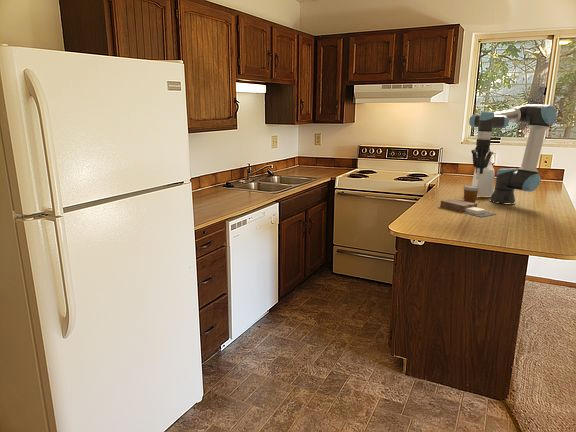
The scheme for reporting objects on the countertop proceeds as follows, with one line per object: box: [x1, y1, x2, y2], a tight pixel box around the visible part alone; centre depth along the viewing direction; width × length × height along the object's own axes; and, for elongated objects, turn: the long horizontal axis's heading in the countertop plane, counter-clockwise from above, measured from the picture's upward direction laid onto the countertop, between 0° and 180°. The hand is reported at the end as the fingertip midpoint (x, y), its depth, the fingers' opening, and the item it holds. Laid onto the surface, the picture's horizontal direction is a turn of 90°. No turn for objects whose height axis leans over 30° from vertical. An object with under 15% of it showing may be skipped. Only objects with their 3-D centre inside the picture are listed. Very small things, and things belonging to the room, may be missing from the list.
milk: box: [471, 159, 496, 196], centre depth 306 cm, size 12×12×26 cm
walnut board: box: [439, 198, 478, 213], centre depth 267 cm, size 14×16×4 cm
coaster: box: [465, 207, 486, 214], centre depth 257 cm, size 8×8×2 cm
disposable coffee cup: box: [463, 184, 479, 203], centre depth 278 cm, size 10×10×12 cm
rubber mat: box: [462, 210, 496, 218], centre depth 255 cm, size 15×12×1 cm
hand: (478, 179), depth 253 cm, fingers closed
